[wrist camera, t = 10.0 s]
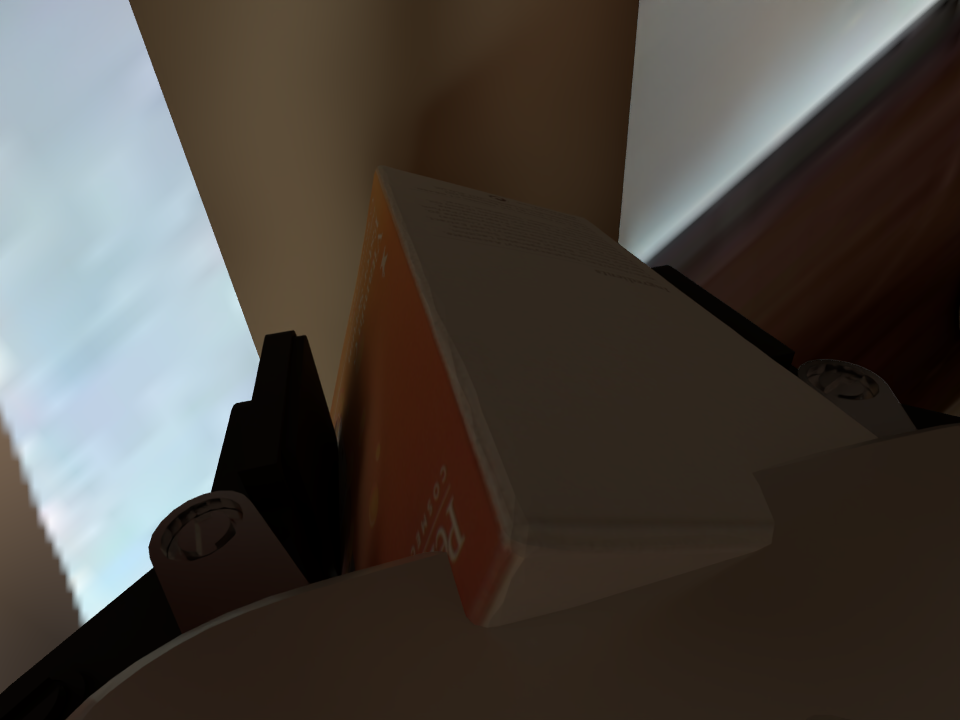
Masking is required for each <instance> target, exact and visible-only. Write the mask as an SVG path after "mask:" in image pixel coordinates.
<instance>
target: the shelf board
mask: <svg viewBox="0 0 960 720" xmlns="http://www.w3.org/2000/svg"><path fill="white" fill-rule="evenodd" d="M129 2H130V5H131V8H132V10H133V13H134V16H135V19H136V21H137V24H138V27H139V30H140V32H141V35H142V38H143V40H144V43H145V46H146V49H147V51H148V54H149V57H150V60H151V62H152V65H153V68H154V71H155V73H156V76H157V79H158V82H159V84H160V87H161V90H162V92H163V95H164V98H165V101H166V103H167V106H168V109H169V112H170V114H171V117H172V120H173V123H174V125H175V128H176V131H177V134H178V136H179V139H180V142H181V144H182V147H183V150H184V153H185V155H186V158H187V161H188V164H189V166H190V169H191V172H192V175H193V177H194V180H195V183H196V186H197V188H198V191H199V194H200V196H201V199H202V202H203V205H204V207H205V210H206V213H207V216H208V218H209V221H210V224H211V227H212V229H213V232H214V235H215V237H216V240H217V243H218V246H219V248H220V251H221V254H222V257H223V259H224V262H225V265H226V268H227V270H228V273H229V276H230V279H231V281H232V284H233V287H234V289H235V292H236V295H237V298H238V300H239V303H240V306H241V309H242V311H243V314H244V317H245V320H246V322H247V325H248V328H249V331H250V333H251V336H252V339H253V341H254V344H255V347H256V350H257V352H258V355H259V358H260V357H261V352H262V347H263V342H264V337H265V335H267V334H273V333H279V332H285V331H290V330H294V331H295V333H296V335H297V336H302V335H306V336H307V339H308V342H309V345H310V348H311V352H312V355H313V358H314V362H315V365H316V369H317V372H318V375H319V379H320V382H321V385H322V389H323V392H324V396H325V399H326V402H327V406H328V409H329V413H330V410H331V405H332V400H333V395H334V390H335V385H336V380H337V375H338V369H339V364H340V359H341V354H342V349H343V344H344V339H345V335H346V330H347V325H348V320H349V316H350V311H351V306H352V301H353V296H354V291H355V286H356V281H357V276H358V270H359V265H360V259H361V254H362V248H363V242H364V236H365V230H366V224H367V217H368V210H369V203H370V197H371V192H372V185H373V178H374V173H375V170H376V168H377V166H379V165H383V166H387V167H391V168H394V169H398V170H402V171H406V172H410V173H414V174H418V175H422V176H425V177H429V178H433V179H437V180H441V181H445V182H449V183H453V184H456V185H460V186H464V187H468V188H472V189H475V190H479V191H483V192H487V193H490V194H494V195H498V196H502V197H505V198H509V199H513V200H517V201H521V202H525V203H528V204H532V205H536V206H540V207H544V208H548V209H551V210H555V211H559V212H562V213H566V214H570V215H574V216H579V217H583V218H585V219H586V220H588V221H589V222H591V223H592V224H593V225H595V226H596V227H598V228H599V229H600V230H601V231H602V232H604V233H605V234H606V235H608V236H609V237H610V238H612V239H613V240H614V241H616V242H617V243H618V239H619V228H620V216H621V205H622V193H623V182H624V170H625V159H626V147H627V135H628V124H629V112H630V101H631V89H632V78H633V66H634V55H635V43H636V32H637V20H638V9H639V0H129Z"/></svg>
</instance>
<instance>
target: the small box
mask: <svg viewBox="0 0 960 720" xmlns="http://www.w3.org/2000/svg"><path fill="white" fill-rule="evenodd" d="M330 416H331V419H332V423H333V426H334V429H335V433H336V437H337V443H338V469H339V522H340V575H343V574H347V573H350V572H354V571H358V570H361V569H365V568H369V567H372V566H376V565H380V564H383V563H387V562H391V561H394V560H398V559H402V558H406V557H409V556H413V555H417V554H421V553H424V552H432V551H442V552H447V556H448V559H449V563H450V566H451V569H452V573H453V576H454V580H455V583H456V586H457V590H458V593H459V596H460V599H461V603H462V606H463V609H464V612H465V615H466V617H467V618H468V619H469V620H470V622H472V623H473V624H475V625H478V626H482V627H486V628H490V627H497V626H502V625H506V624H510V623H514V622H518V621H521V620H525V619H529V618H533V617H537V616H541V615H545V614H549V613H553V612H557V611H561V610H565V609H569V608H572V607H576V606H579V605H583V604H586V603H589V602H593V601H596V600H599V599H602V598H605V597H609V596H612V595H615V594H618V593H621V592H625V591H628V590H631V589H634V588H638V587H641V586H644V585H647V584H651V583H654V582H657V581H660V580H664V579H667V578H670V577H673V576H677V575H680V574H683V573H686V572H690V571H693V570H696V569H699V568H703V567H706V566H709V565H712V564H715V563H719V562H722V561H725V560H728V559H732V558H735V557H738V556H742V555H745V554H748V553H751V552H755V551H757V550H759V549H761V548H763V547H765V546H767V545H769V544H771V543H772V536H773V530H774V524H775V521H774V519H773V517H772V514H771V512H770V510H769V507H768V505H767V503H766V500H765V498H764V495H763V493H762V490H761V488H760V485H759V484H758V482H757V480H756V479H755V477H754V476H753V474H752V473H753V472H756V471H759V470H762V469H764V468H767V467H770V466H773V465H777V464H780V463H783V462H786V461H790V460H793V459H796V458H800V457H803V456H807V455H810V454H814V453H818V452H822V451H826V450H830V449H835V448H839V447H843V446H848V445H852V444H856V443H860V442H864V441H868V440H872V439H876V438H878V437H877V436H875V435H874V434H873V433H871V432H870V431H869V430H867V429H866V428H865V427H863V426H862V425H861V424H859V423H858V422H857V421H855V420H854V419H853V418H851V417H850V416H849V415H847V414H846V413H845V412H844V411H842V410H841V409H840V408H838V407H837V406H836V405H835V404H833V403H832V402H831V401H829V400H828V399H826V398H825V397H824V396H822V395H821V394H820V393H818V392H817V391H816V390H814V389H813V388H812V387H810V386H809V385H808V384H806V383H805V382H803V381H802V380H801V379H799V378H798V377H797V376H795V375H794V374H792V373H791V372H790V371H788V370H787V369H785V368H784V367H783V366H781V365H780V364H778V363H777V362H776V361H774V360H773V359H772V358H770V357H769V356H767V355H766V354H765V353H764V352H762V351H761V350H760V349H758V348H757V347H756V346H754V345H753V344H752V343H750V342H749V341H747V340H746V339H744V338H743V337H742V336H740V335H739V334H738V333H737V332H735V331H734V330H733V329H731V328H730V327H729V326H727V325H726V324H725V323H723V322H722V321H720V320H719V319H718V318H716V317H715V316H714V315H712V314H711V313H710V312H708V311H707V310H706V309H704V308H703V307H702V306H700V305H699V304H697V303H696V302H695V301H693V300H692V299H691V298H689V297H688V296H687V295H685V294H684V293H683V292H681V291H680V290H679V289H677V288H676V287H675V286H673V285H672V284H671V283H669V282H668V281H667V280H665V279H664V278H663V277H662V276H660V275H659V274H658V273H656V272H655V271H654V270H652V269H651V268H650V267H649V266H647V265H646V264H645V263H643V262H642V261H641V260H639V259H638V258H637V257H635V256H634V255H633V254H631V253H630V252H629V251H627V250H626V249H625V248H623V247H622V246H621V245H619V244H618V243H617V242H616V241H614V240H613V239H612V238H610V237H609V236H608V235H606V234H605V233H604V232H602V231H601V230H600V229H599V228H598V227H596V226H595V225H593V224H592V223H591V222H589V221H588V220H586V219H585V218H583V217H579V216H574V215H570V214H566V213H562V212H559V211H555V210H551V209H548V208H544V207H540V206H536V205H532V204H528V203H525V202H521V201H517V200H513V199H509V198H505V197H502V196H498V195H494V194H490V193H487V192H483V191H479V190H475V189H472V188H468V187H464V186H460V185H456V184H453V183H449V182H445V181H441V180H437V179H433V178H429V177H425V176H422V175H418V174H414V173H410V172H406V171H402V170H398V169H394V168H391V167H387V166H383V165H379V166H377V168H376V170H375V173H374V178H373V185H372V192H371V197H370V203H369V210H368V217H367V224H366V230H365V236H364V242H363V248H362V254H361V259H360V265H359V270H358V276H357V281H356V286H355V291H354V296H353V301H352V306H351V311H350V316H349V320H348V325H347V330H346V335H345V339H344V344H343V349H342V354H341V359H340V364H339V369H338V375H337V380H336V385H335V390H334V395H333V400H332V405H331V410H330Z"/></svg>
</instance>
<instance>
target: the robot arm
mask: <svg viewBox="0 0 960 720" xmlns="http://www.w3.org/2000/svg"><path fill="white" fill-rule="evenodd" d="M651 269H652V270H654V271H655V272H656V273H658V274H659V275H660V276H662V277H663V278H664V279H665V280H667V281H668V282H669V283H671V284H672V285H673V286H675V287H676V288H677V289H679V290H680V291H681V292H683V293H684V294H685V295H687V296H688V297H689V298H691V299H692V300H693V301H695V302H696V303H697V304H699V305H700V306H702V307H703V308H704V309H706V310H707V311H708V312H710V313H711V314H712V315H714V316H715V317H716V318H718V319H719V320H720V321H722V322H723V323H725V324H726V325H727V326H729V327H730V328H731V329H733V330H734V331H735V332H737V333H738V334H739V335H740V336H742V337H743V338H744V339H746V340H747V341H749V342H750V343H752V344H753V345H754V346H756V347H757V348H758V349H760V350H761V351H762V352H764V353H765V354H766V355H767V356H769V357H770V358H772V359H773V360H774V361H776V362H777V363H778V364H780V365H781V366H783V367H784V368H785V369H787V370H788V371H790V372H791V373H792V374H794V375H795V376H797V377H798V378H799V379H801V380H802V381H803V382H805V383H806V384H808V385H809V386H810V387H812V388H813V389H814V390H816V391H817V392H818V393H820V394H821V395H822V396H824V397H825V398H826V399H828V400H829V401H831V402H832V403H833V404H835V405H836V406H837V407H838V408H840V409H841V410H842V411H844V412H845V413H846V414H847V415H849V416H850V417H851V418H853V419H854V420H855V421H857V422H858V423H859V424H861V425H862V426H863V427H865V428H866V429H867V430H869V431H870V432H871V433H873V434H874V435H875V436H877V437H878V438H876V439H872V440H868V441H864V442H860V443H856V444H852V445H848V446H843V447H839V448H835V449H830V450H826V451H822V452H818V453H814V454H810V455H807V456H803V457H800V458H796V459H793V460H790V461H786V462H783V463H780V464H777V465H773V466H770V467H767V468H764V469H762V470H759V471H756V472H753V473H752V474H753V476H754V477H755V479H756V480H757V482H758V484H759V485H760V488H761V490H762V493H763V495H764V498H765V500H766V503H767V505H768V507H769V510H770V512H771V514H772V517H773V519H774V521H775V524H774V530H773V536H772V543H771V544H769V545H767V546H765V547H763V548H761V549H759V550H757V551H755V552H751V553H748V554H745V555H742V556H738V557H735V558H732V559H728V560H725V561H722V562H719V563H715V564H712V565H709V566H706V567H703V568H699V569H696V570H693V571H690V572H686V573H683V574H680V575H677V576H673V577H670V578H667V579H664V580H660V581H657V582H654V583H651V584H647V585H644V586H641V587H638V588H634V589H631V590H628V591H625V592H621V593H618V594H615V595H612V596H609V597H605V598H602V599H599V600H596V601H593V602H589V603H586V604H583V605H579V606H576V607H572V608H569V609H565V610H561V611H557V612H553V613H549V614H545V615H541V616H537V617H533V618H529V619H525V620H521V621H518V622H514V623H510V624H506V625H502V626H497V627H490V628H486V627H482V626H478V625H475V624H473V623H472V622H470V620H469V619H468V618H467V617H466V615H465V612H464V609H463V606H462V603H461V599H460V596H459V593H458V590H457V586H456V583H455V580H454V576H453V573H452V569H451V566H450V563H449V559H448V556H447V552H442V551H432V552H424V553H421V554H417V555H413V556H409V557H406V558H402V559H398V560H394V561H391V562H387V563H383V564H380V565H376V566H372V567H369V568H365V569H361V570H358V571H354V572H350V573H347V574H343V575H340V522H339V469H338V443H337V437H336V433H335V429H334V426H333V423H332V419H331V416H330V413H329V409H328V406H327V402H326V399H325V396H324V392H323V389H322V385H321V382H320V379H319V375H318V372H317V369H316V365H315V362H314V358H313V355H312V352H311V348H310V345H309V342H308V339H307V336H306V335H302V336H297V335H296V333H295V331H294V330H290V331H285V332H279V333H273V334H267V335H265V337H264V342H263V347H262V352H261V357H260V362H259V367H258V372H257V377H256V381H255V386H254V391H253V396H252V400H251V401H246V402H240V403H236V404H235V405H234V406H233V408H232V410H231V414H230V418H229V422H228V426H227V430H226V434H225V438H224V442H223V446H222V450H221V454H220V458H219V462H218V466H217V470H216V474H215V478H214V482H213V486H212V490H211V493H206V494H203V495H200V496H198V497H196V498H193V499H191V500H189V501H187V502H185V503H184V504H182V505H181V506H179V507H178V508H176V509H175V510H173V511H172V512H171V513H170V514H169V515H168V516H167V517H166V518H165V519H164V520H162V521H161V523H160V524H159V526H158V527H157V529H156V530H155V531H154V533H153V534H152V537H151V541H150V544H149V547H148V548H149V555H150V560H151V562H152V564H153V568H152V569H151V570H150V571H149V572H147V573H146V574H145V575H144V576H142V577H141V578H140V579H139V580H138V581H136V582H135V583H134V584H133V585H132V586H130V587H129V588H128V589H127V590H125V591H124V592H123V593H122V594H121V595H119V596H118V597H117V598H116V599H115V600H113V601H112V602H111V603H110V604H108V605H107V606H106V607H105V608H104V609H102V610H101V611H100V612H99V613H97V614H96V615H95V616H94V617H93V618H91V619H90V620H89V621H88V622H87V623H85V624H84V625H83V626H82V627H80V628H79V629H78V630H77V631H76V632H74V633H73V634H72V635H71V636H70V637H68V638H67V639H66V640H65V641H63V642H62V643H61V644H60V645H59V646H57V647H56V648H55V649H54V650H53V651H51V652H50V653H49V654H48V655H46V656H45V657H44V658H43V659H42V660H40V661H39V662H38V663H37V664H36V665H34V666H33V667H32V668H31V669H29V670H28V671H27V672H26V673H25V674H23V675H22V676H21V677H20V678H18V679H17V680H16V681H15V682H14V683H12V684H11V685H10V686H9V687H8V688H7V689H6V690H5V691H3V692H2V693H1V694H0V720H960V417H957V416H952V415H948V414H943V413H939V412H934V411H930V410H926V409H921V408H917V407H912V406H908V405H903V404H900V403H899V401H898V400H897V398H896V397H895V395H894V394H893V392H892V391H891V389H890V388H889V386H888V385H887V384H886V382H885V381H884V380H883V379H882V378H881V377H879V376H878V375H876V374H875V373H873V372H872V371H870V370H867V369H865V368H863V367H861V366H858V365H855V364H851V363H848V362H844V361H838V360H831V359H818V360H813V361H808V362H806V363H804V364H802V365H801V366H800V368H799V369H796V368H795V367H794V366H792V365H791V363H792V360H793V356H794V353H795V352H794V351H793V350H791V349H790V348H788V347H787V346H786V345H784V344H783V343H781V342H780V341H778V340H777V339H775V338H774V337H773V336H771V335H770V334H768V333H767V332H765V331H764V330H762V329H761V328H759V327H758V326H757V325H755V324H754V323H752V322H751V321H749V320H748V319H746V318H745V317H744V316H742V315H741V314H739V313H738V312H736V311H735V310H733V309H732V308H731V307H729V306H728V305H726V304H725V303H723V302H722V301H720V300H719V299H717V298H716V297H715V296H713V295H712V294H710V293H709V292H707V291H706V290H704V289H703V288H702V287H700V286H699V285H697V284H696V283H694V282H693V281H691V280H690V279H689V278H687V277H686V276H684V275H683V274H681V273H680V272H678V271H677V270H675V269H674V268H673V267H671V266H669V265H665V266H659V267H653V268H651ZM959 330H960V306H959Z"/></svg>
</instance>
